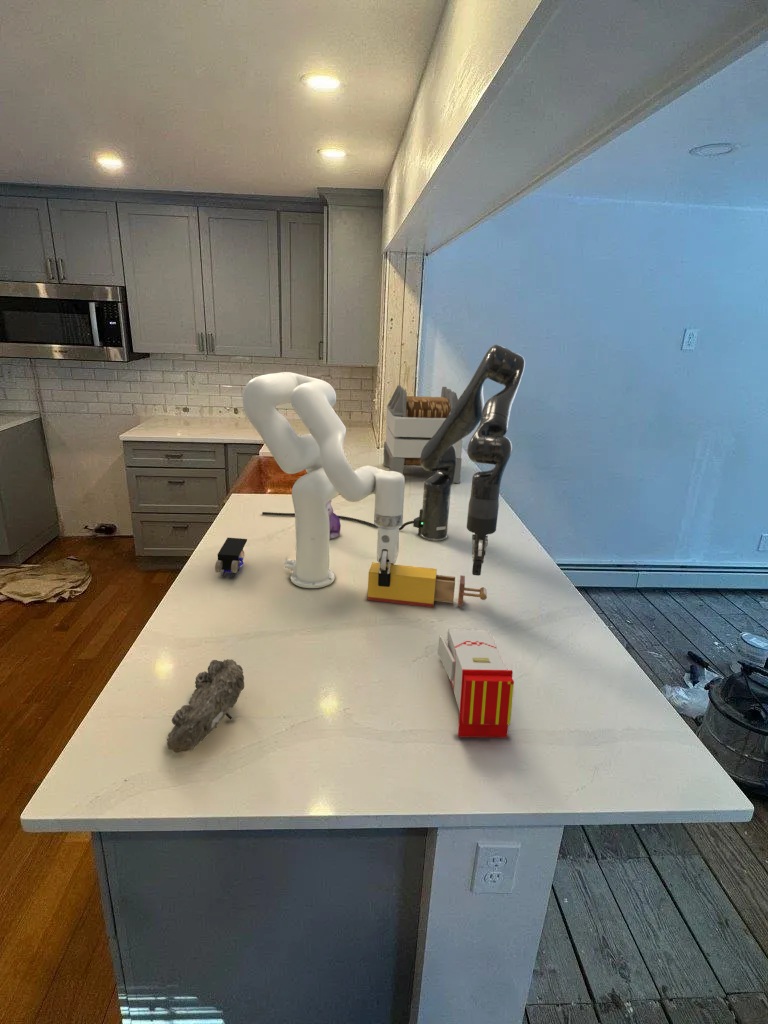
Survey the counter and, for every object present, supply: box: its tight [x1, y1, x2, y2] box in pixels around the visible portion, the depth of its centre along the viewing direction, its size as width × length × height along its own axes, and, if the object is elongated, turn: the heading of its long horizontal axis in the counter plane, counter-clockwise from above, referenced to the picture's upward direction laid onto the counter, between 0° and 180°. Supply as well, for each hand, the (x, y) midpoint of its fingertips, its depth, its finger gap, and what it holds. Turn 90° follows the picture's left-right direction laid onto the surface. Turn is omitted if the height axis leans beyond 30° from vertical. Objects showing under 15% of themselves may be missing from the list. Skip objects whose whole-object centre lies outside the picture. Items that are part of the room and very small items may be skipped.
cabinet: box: [366, 561, 438, 608], centre depth 154 cm, size 18×6×8 cm, turn 82°
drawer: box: [434, 574, 488, 607], centre depth 153 cm, size 23×5×7 cm, turn 82°
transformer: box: [383, 384, 464, 484], centre depth 268 cm, size 34×33×41 cm
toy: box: [437, 628, 515, 738], centre depth 117 cm, size 12×13×30 cm
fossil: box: [166, 658, 245, 754], centre depth 106 cm, size 22×10×15 cm
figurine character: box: [214, 537, 248, 578], centre depth 166 cm, size 7×8×15 cm
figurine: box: [326, 499, 342, 539], centre depth 193 cm, size 9×10×15 cm
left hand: (385, 579), depth 154 cm, fingers closed on cabinet, 6 cm apart
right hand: (476, 574), depth 150 cm, fingers closed
